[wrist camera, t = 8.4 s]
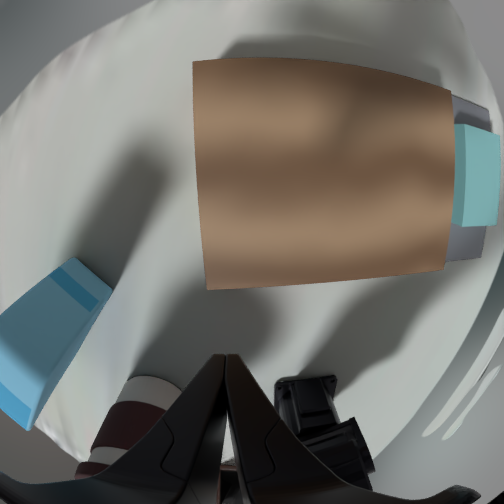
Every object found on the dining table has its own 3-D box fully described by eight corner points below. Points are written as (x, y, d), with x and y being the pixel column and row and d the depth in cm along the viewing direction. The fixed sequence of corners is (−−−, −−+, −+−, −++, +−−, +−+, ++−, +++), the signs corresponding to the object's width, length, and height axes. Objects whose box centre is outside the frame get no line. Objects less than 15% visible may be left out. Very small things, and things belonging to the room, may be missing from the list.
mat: (479, 256, 22) (480, 257, 22) (415, 263, 22) (417, 264, 22) (486, 110, 17) (488, 110, 17) (420, 86, 17) (422, 85, 16)
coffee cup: (121, 412, 27) (91, 512, 13) (106, 355, 24) (50, 475, 9) (199, 426, 28) (192, 536, 14) (201, 372, 25) (187, 516, 10)
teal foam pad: (462, 226, 19) (448, 221, 21) (496, 225, 19) (483, 220, 21) (464, 123, 16) (450, 124, 18) (499, 135, 16) (486, 134, 18)
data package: (79, 250, 20) (-13, 324, 9) (118, 284, 21) (46, 380, 10) (44, 330, 23) (-13, 401, 11) (75, 356, 24) (27, 436, 12)
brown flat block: (417, 253, 22) (443, 269, 18) (212, 266, 21) (207, 290, 17) (421, 97, 17) (450, 90, 13) (200, 79, 16) (192, 61, 13)
